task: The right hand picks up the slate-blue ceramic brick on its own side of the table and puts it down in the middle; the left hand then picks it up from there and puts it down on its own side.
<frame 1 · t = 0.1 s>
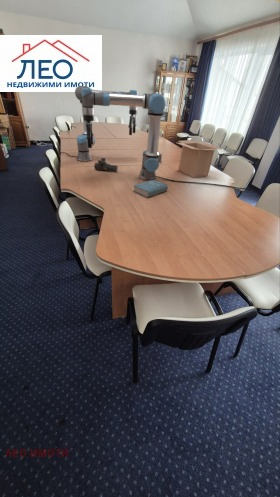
left hand: (132, 134, 226), 28 cm above the table, tool pointing down, fingers open, 13 cm apart
right hand: (90, 146, 173), 28 cm above the table, tool pointing down, fingers open, 13 cm apart
book: (150, 191, 179), on the table
box: (192, 172, 225), on the table
brick: (157, 162, 250), on the table
laser sight: (105, 170, 214), on the table
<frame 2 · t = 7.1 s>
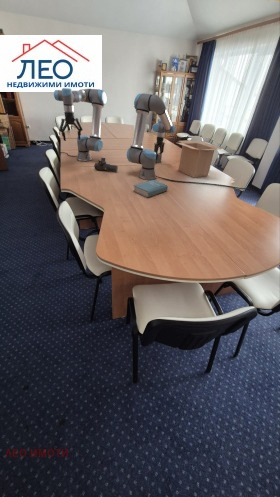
left hand: (72, 140, 192), 27 cm above the table, tool pointing down, fingers open, 13 cm apart
right hand: (157, 159, 248), 3 cm above the table, tool pointing down, fingers closed on brick, 5 cm apart
brick: (157, 162, 250), on the table, touching right hand
everything else where it was.
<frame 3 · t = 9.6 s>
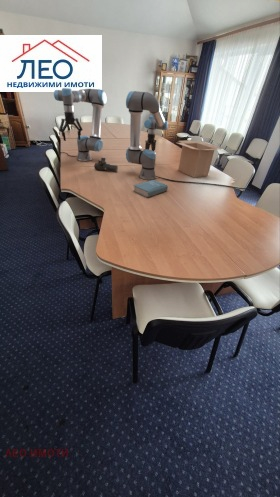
left hand: (72, 140, 192), 27 cm above the table, tool pointing down, fingers open, 13 cm apart
right hand: (149, 157, 237), 7 cm above the table, tool pointing down, fingers closed on brick, 5 cm apart
brick: (149, 160, 239), point 4 cm above the table, touching right hand
everything else where it was.
when the right hand's fingers open (5 cm above the table, at t = 12.3 s): brick drops 2 cm, on the table.
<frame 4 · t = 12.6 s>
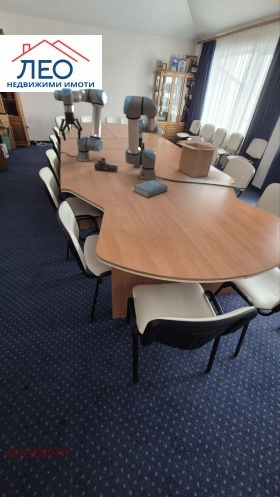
left hand: (72, 140, 192), 27 cm above the table, tool pointing down, fingers open, 13 cm apart
right hand: (137, 161, 228), 6 cm above the table, tool pointing down, fingers open, 9 cm apart
brick: (137, 166, 231), on the table
everything else where it was.
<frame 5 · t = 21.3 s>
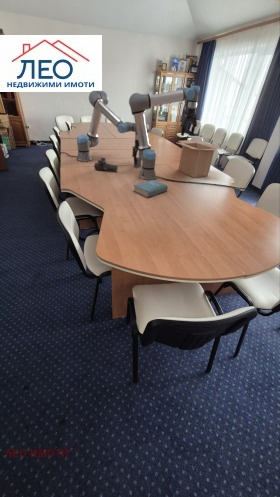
left hand: (137, 163, 229), 3 cm above the table, tool pointing down, fingers closed on brick, 5 cm apart
right hand: (187, 135, 203), 34 cm above the table, tool pointing down, fingers open, 13 cm apart
brick: (137, 166, 231), on the table, touching left hand
everything else where it was.
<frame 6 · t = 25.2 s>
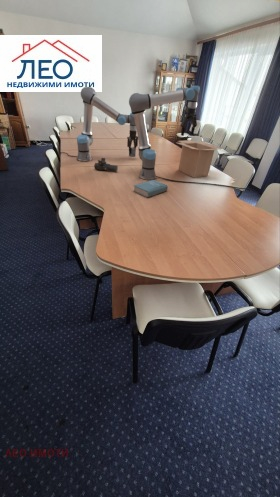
left hand: (132, 153, 246), 7 cm above the table, tool pointing down, fingers closed on brick, 5 cm apart
right hand: (187, 135, 203), 34 cm above the table, tool pointing down, fingers open, 13 cm apart
brick: (132, 156, 247), point 4 cm above the table, touching left hand
everything else where it was.
when the left hand's fingers open (5 cm above the table, at t = 29.3 s): brick drops 2 cm, on the table.
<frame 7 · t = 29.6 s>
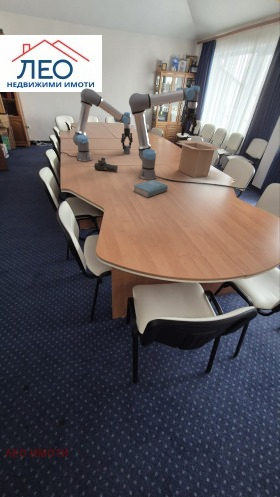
left hand: (126, 148, 269), 6 cm above the table, tool pointing down, fingers open, 9 cm apart
right hand: (187, 135, 203), 34 cm above the table, tool pointing down, fingers open, 13 cm apart
brick: (126, 153, 272), on the table
everything else where it was.
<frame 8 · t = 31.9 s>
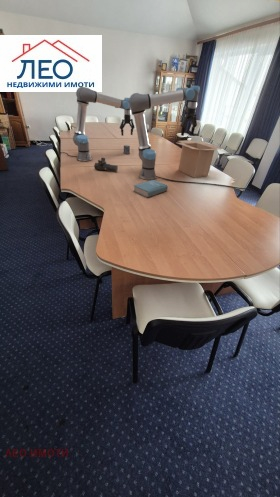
left hand: (127, 135, 261), 20 cm above the table, tool pointing down, fingers open, 13 cm apart
right hand: (187, 135, 203), 34 cm above the table, tool pointing down, fingers open, 13 cm apart
nothing on the table moved.
at the end: brick inside the target area (0.1 cm from its centre), on the table; brick tilted 0°; the two hands never held the brick at the same time; the left hand is holding nothing; the right hand is holding nothing; brick at rest at the end (0.0 cm/s) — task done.
